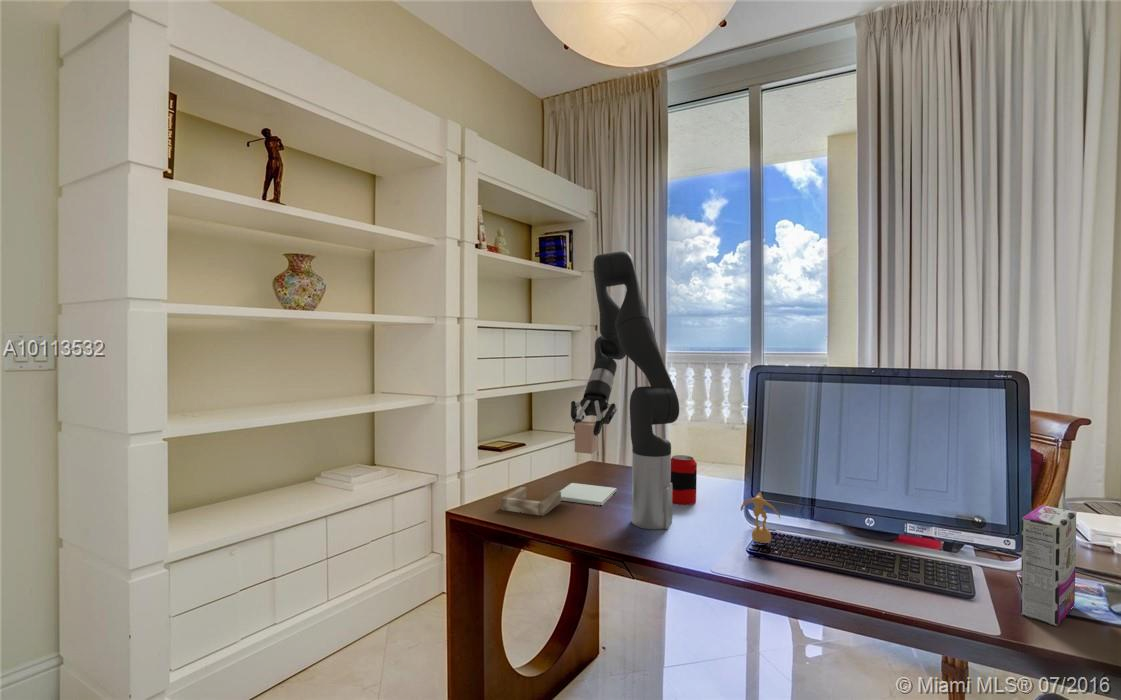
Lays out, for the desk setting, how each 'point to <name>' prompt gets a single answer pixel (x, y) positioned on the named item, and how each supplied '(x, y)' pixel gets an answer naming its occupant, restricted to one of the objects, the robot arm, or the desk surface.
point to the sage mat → (587, 493)
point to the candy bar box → (1048, 564)
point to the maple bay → (529, 502)
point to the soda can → (683, 479)
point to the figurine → (759, 532)
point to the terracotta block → (585, 437)
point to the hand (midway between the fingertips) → (585, 433)
